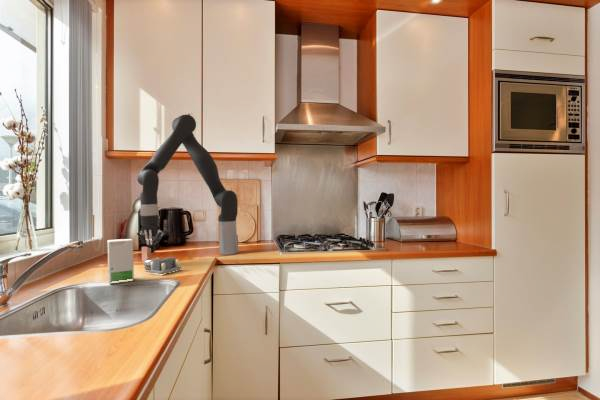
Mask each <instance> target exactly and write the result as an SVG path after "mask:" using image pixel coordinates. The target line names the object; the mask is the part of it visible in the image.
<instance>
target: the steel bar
mask: <svg viewBox="0 0 600 400" xmlns="http://www.w3.org/2000/svg"><path fill="white" fill-rule="evenodd" d="M176 260H177V259H176V257H175V256H172V257H171V256H168V257H162V258H159V259H158V260H154V261H153V263H154V271H162V266H161V264H162V263H165V270H166V269H170V268H174V267H176Z"/></svg>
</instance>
